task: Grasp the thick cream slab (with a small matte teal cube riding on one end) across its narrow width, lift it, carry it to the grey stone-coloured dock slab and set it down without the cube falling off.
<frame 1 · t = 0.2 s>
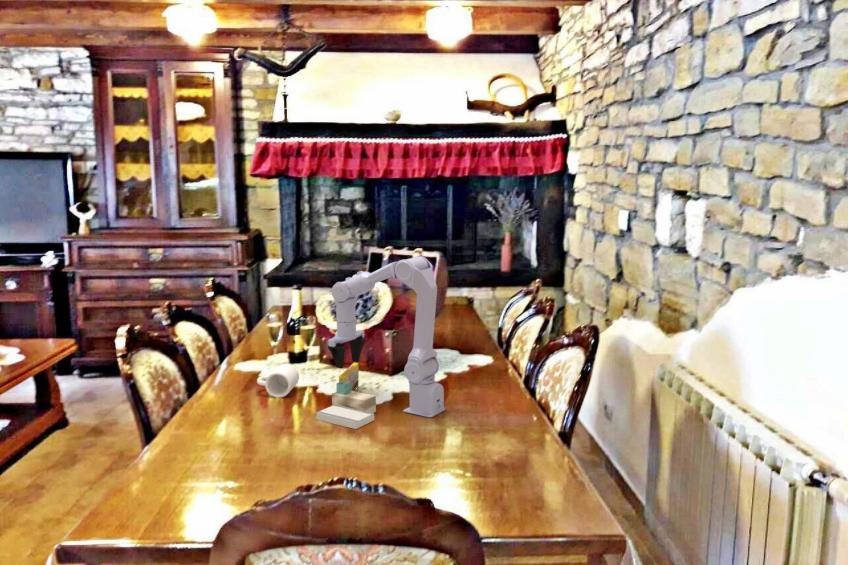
hand: (347, 364, 216), 10 cm above the table, fingers open, 7 cm apart
thick cream slab: (354, 411, 205), on the table
matte teal cube: (344, 392, 206), point 5 cm above the table
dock: (345, 419, 197), on the table
candy box: (349, 396, 219), on the table
mug: (276, 393, 222), on the table
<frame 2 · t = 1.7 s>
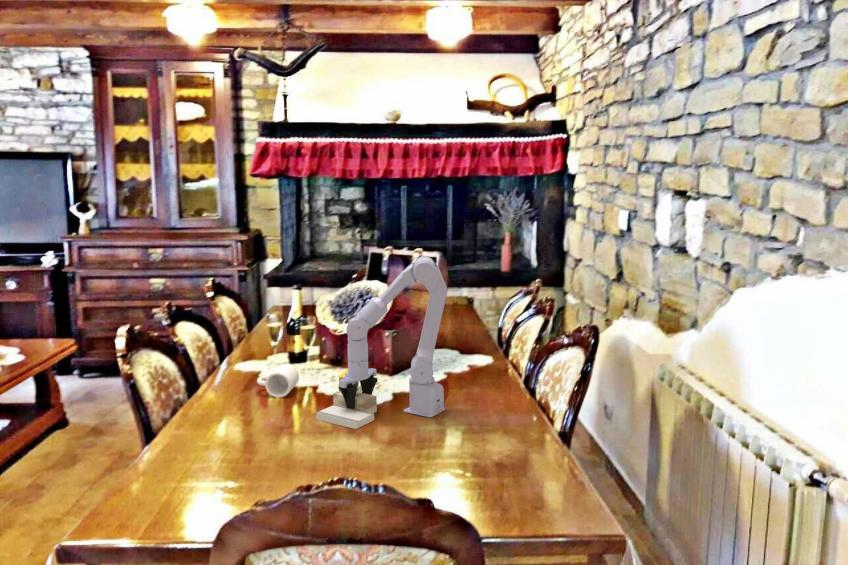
hand: (358, 405, 204), 2 cm above the table, fingers open, 7 cm apart
thick cream slab: (355, 411, 205), on the table, touching matte teal cube
matte teal cube: (348, 393, 205), point 5 cm above the table, touching thick cream slab
everything else where it was.
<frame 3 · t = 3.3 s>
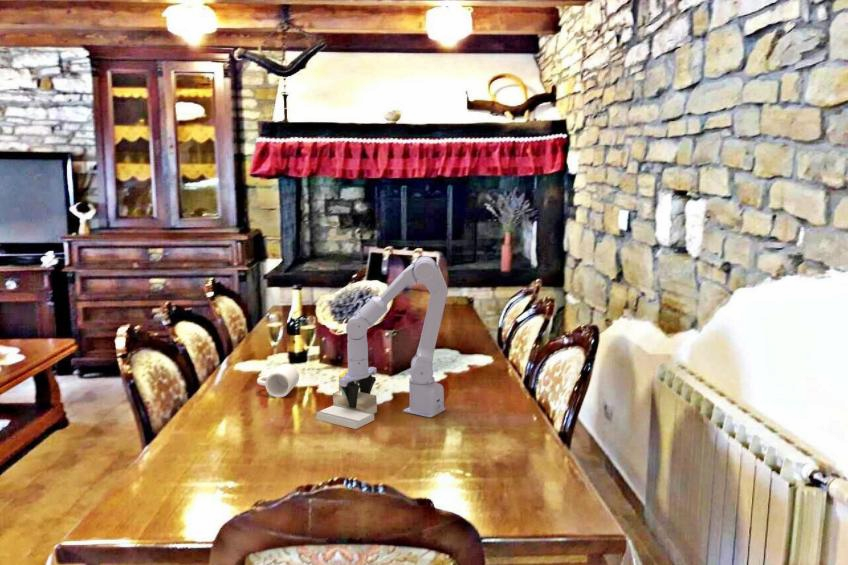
hand: (359, 404, 204), 2 cm above the table, fingers closed on thick cream slab, 5 cm apart
thick cream slab: (355, 410, 205), on the table, touching gripper
matte teal cube: (349, 393, 204), point 5 cm above the table
everything else where it was.
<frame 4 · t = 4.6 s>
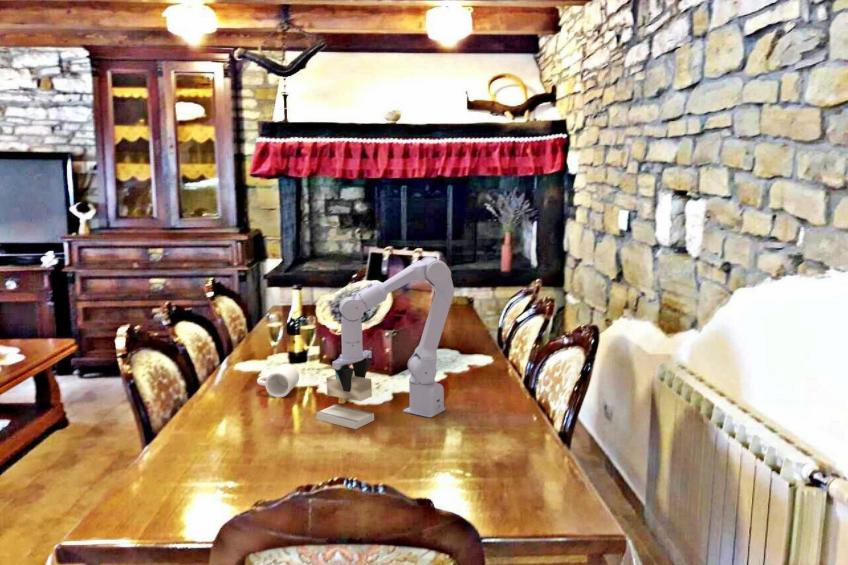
hand: (353, 388, 198), 8 cm above the table, fingers closed on thick cream slab, 5 cm apart
thick cream slab: (349, 395, 199), point 6 cm above the table, touching gripper, matte teal cube
matte teal cube: (343, 378, 198), point 11 cm above the table, touching thick cream slab
everything else where it was.
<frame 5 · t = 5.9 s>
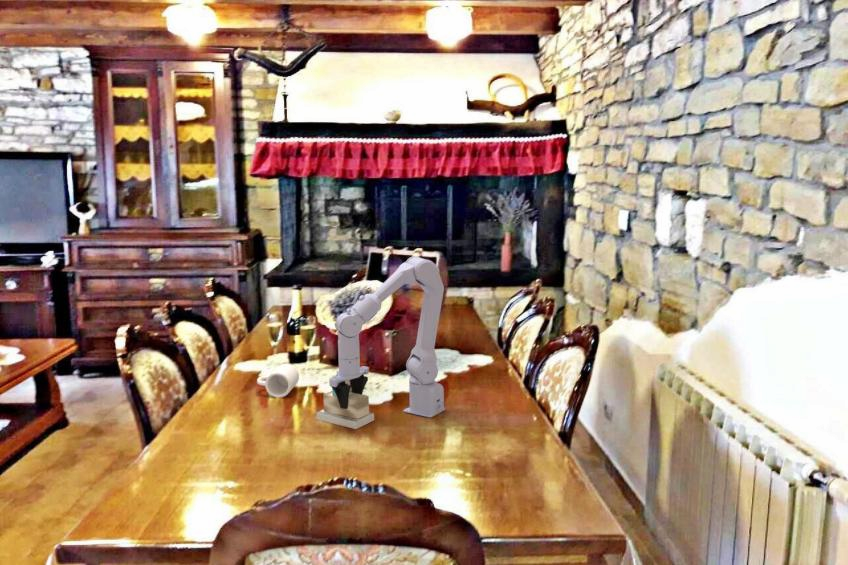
hand: (350, 405, 195), 5 cm above the table, fingers closed on thick cream slab, 5 cm apart
thick cream slab: (346, 412, 197), point 2 cm above the table, touching gripper, matte teal cube
matte teal cube: (340, 395, 196), point 7 cm above the table, touching thick cream slab
everything else where it was.
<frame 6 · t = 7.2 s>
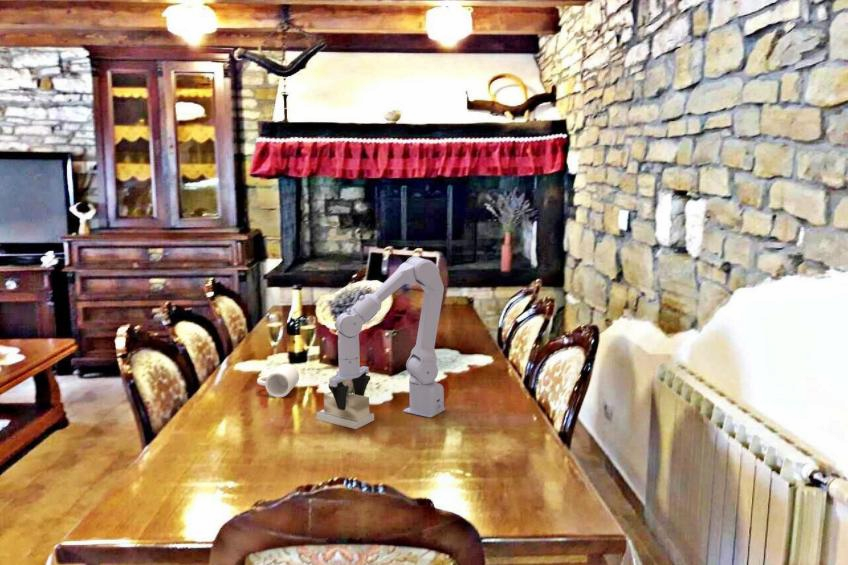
hand: (350, 405, 195), 5 cm above the table, fingers open, 7 cm apart
thick cream slab: (346, 413, 197), point 2 cm above the table, touching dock, matte teal cube
everything else where it was.
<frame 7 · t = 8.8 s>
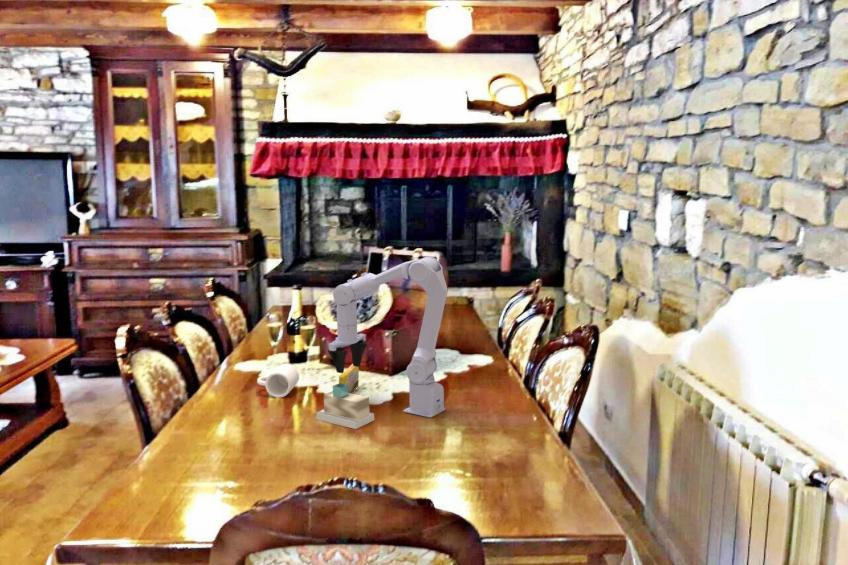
hand: (348, 369, 209), 10 cm above the table, fingers open, 7 cm apart
nothing on the table moved.
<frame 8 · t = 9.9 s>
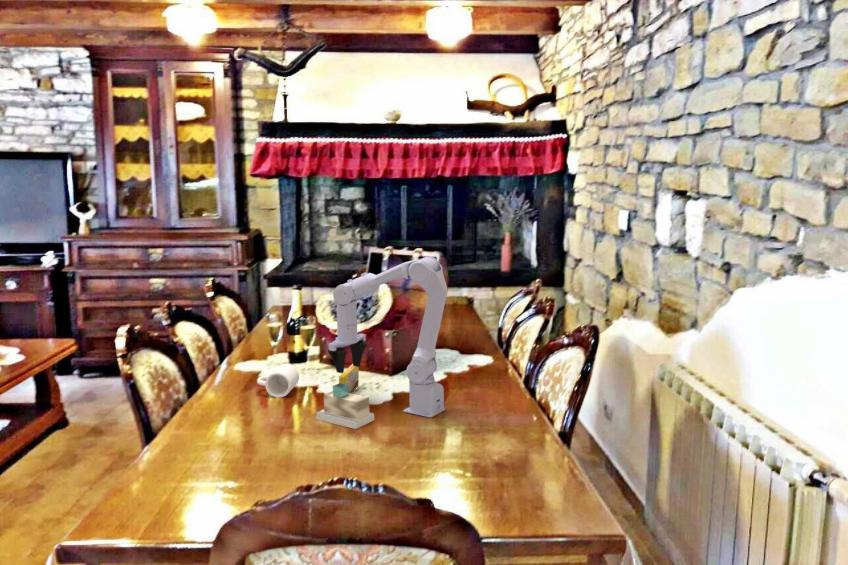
hand: (348, 369, 209), 10 cm above the table, fingers open, 7 cm apart
nothing on the table moved.
at the end: thick cream slab inside the target area on the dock (0.6 cm from its centre), point 2.0 cm above the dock's base; matte teal cube inside the target area on the thick cream slab (1.5 cm from its centre), point 5.0 cm above the thick cream slab's base; thick cream slab tilted 0° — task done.
